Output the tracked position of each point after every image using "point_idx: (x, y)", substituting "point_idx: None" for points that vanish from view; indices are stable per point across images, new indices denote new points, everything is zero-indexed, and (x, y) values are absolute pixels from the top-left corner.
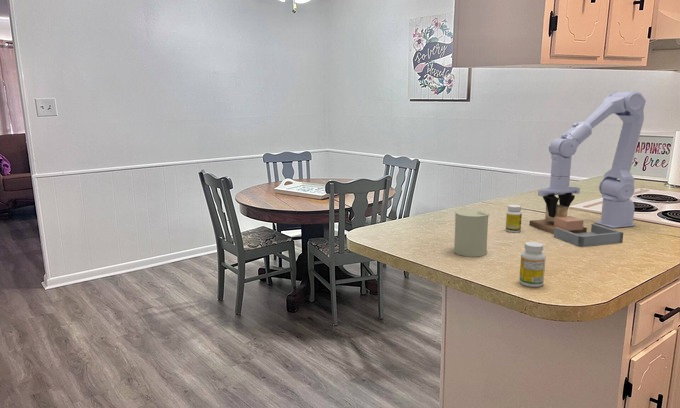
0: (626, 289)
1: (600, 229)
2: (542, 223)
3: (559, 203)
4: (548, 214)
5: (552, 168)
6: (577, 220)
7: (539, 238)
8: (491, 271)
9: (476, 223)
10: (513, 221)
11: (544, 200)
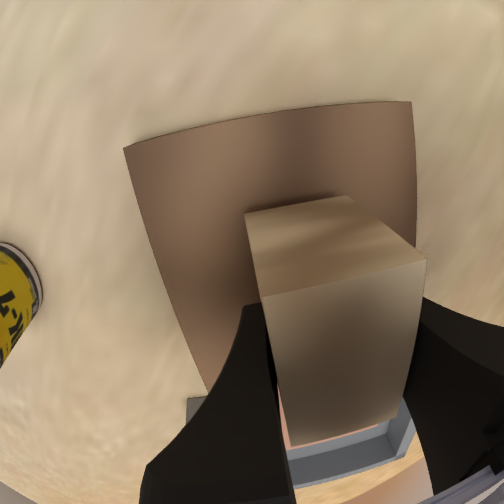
0: None
1: (406, 406)
2: (193, 257)
3: (430, 330)
4: (257, 281)
5: None
6: (341, 435)
7: (115, 404)
8: (21, 483)
9: None
10: None
11: (181, 431)
